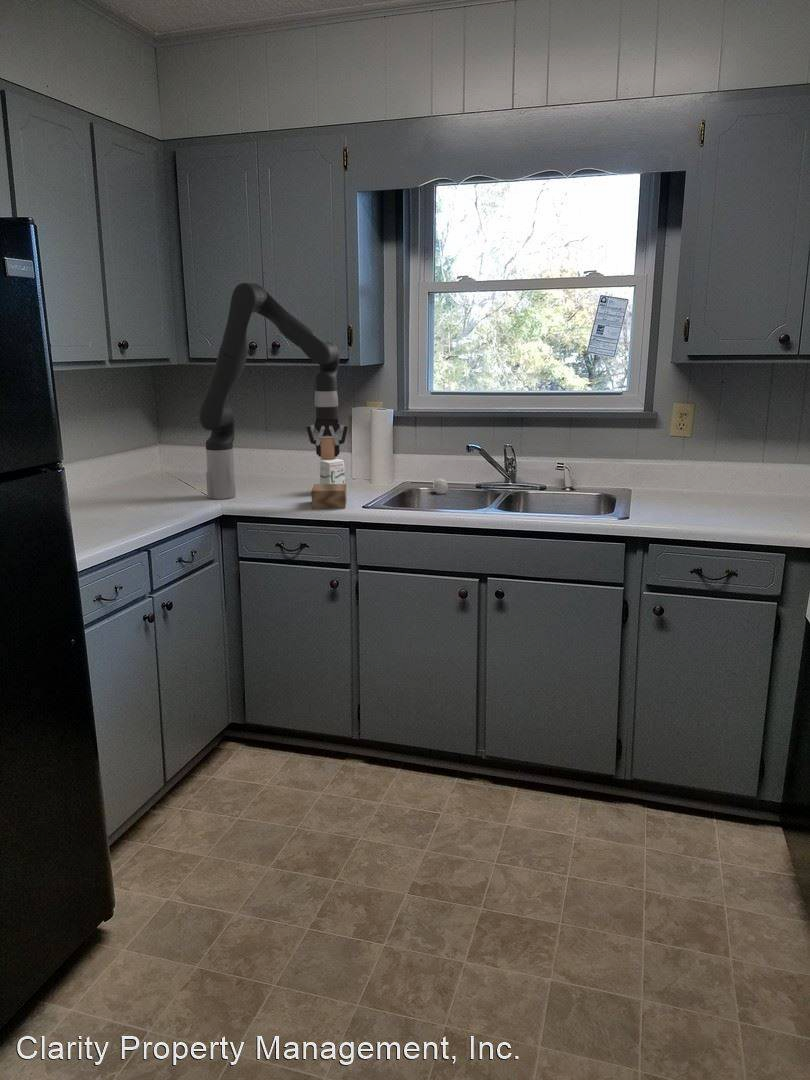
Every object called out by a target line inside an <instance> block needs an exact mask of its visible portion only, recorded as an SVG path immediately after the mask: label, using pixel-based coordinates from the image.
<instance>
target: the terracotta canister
mask: <svg viewBox="0 0 810 1080" xmlns="http://www.w3.org/2000/svg"><path fill="white" fill-rule="evenodd" d="M335 445H336V444H335V441H334V439H333V437H332V436H322V438H321V441H320V453H321V457H320V460H321V461H324V460H334V459H337V458H336V457H335Z"/></svg>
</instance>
